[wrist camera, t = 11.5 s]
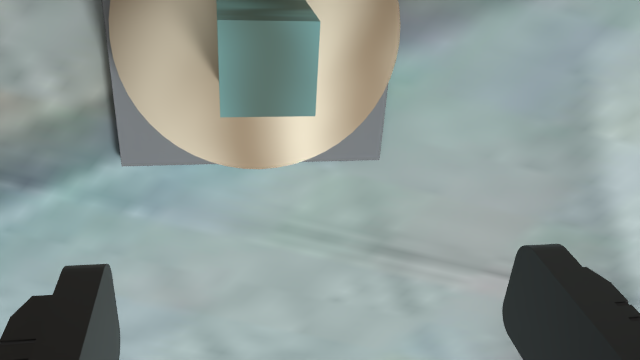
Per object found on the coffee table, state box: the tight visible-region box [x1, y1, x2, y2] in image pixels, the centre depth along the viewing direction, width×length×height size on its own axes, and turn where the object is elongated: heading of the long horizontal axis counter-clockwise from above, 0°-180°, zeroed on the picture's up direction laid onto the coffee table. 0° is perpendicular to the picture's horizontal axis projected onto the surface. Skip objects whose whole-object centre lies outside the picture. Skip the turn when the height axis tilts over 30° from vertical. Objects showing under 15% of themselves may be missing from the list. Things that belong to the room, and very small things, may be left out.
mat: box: [102, 0, 388, 166], centre depth 28 cm, size 14×14×1 cm
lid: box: [109, 0, 400, 169], centre depth 26 cm, size 14×14×6 cm
